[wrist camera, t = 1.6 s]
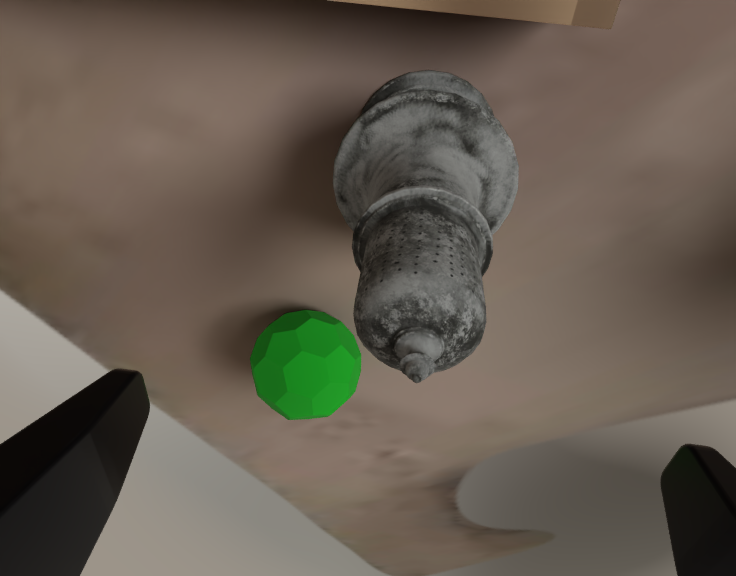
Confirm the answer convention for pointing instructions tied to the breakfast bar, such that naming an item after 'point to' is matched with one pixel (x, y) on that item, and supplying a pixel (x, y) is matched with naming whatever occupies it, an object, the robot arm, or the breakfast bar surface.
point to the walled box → (518, 9)
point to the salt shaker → (424, 217)
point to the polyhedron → (305, 365)
